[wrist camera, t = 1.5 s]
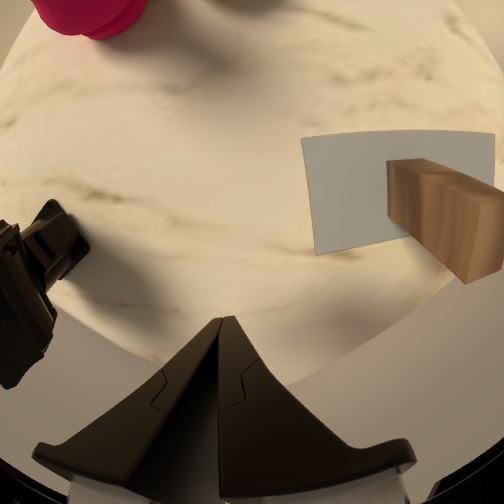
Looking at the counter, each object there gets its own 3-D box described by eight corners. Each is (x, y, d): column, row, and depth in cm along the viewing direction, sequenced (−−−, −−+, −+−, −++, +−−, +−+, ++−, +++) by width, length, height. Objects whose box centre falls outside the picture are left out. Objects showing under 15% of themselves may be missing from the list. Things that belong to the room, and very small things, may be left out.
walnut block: (387, 215, 22) (464, 284, 12) (386, 160, 20) (480, 204, 10) (421, 210, 22) (500, 269, 12) (422, 158, 19) (515, 198, 10)
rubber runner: (315, 253, 24) (316, 255, 23) (300, 138, 19) (301, 138, 19) (488, 216, 23) (489, 217, 22) (493, 133, 18) (494, 134, 18)
